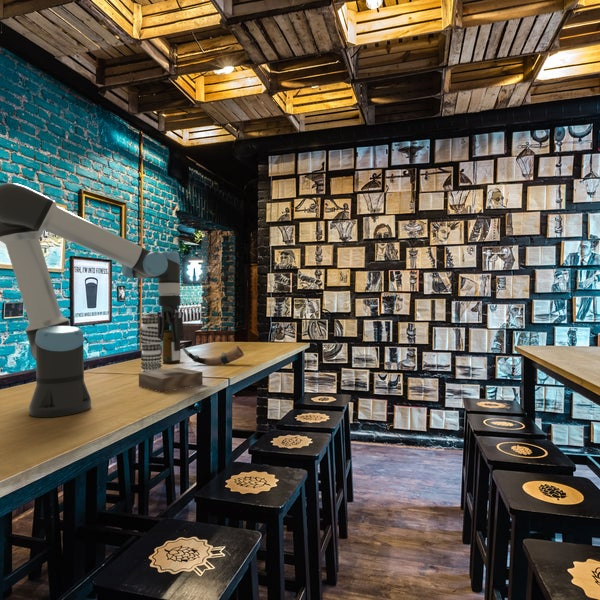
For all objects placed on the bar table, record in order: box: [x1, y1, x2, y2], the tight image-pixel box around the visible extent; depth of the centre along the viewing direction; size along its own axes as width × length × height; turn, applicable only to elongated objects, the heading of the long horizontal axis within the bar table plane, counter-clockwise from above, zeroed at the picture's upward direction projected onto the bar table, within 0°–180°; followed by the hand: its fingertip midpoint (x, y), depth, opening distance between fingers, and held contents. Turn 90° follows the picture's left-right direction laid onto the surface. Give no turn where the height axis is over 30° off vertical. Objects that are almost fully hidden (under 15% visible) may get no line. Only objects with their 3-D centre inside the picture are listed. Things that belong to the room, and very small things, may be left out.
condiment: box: [159, 329, 186, 366], centre depth 149 cm, size 7×8×12 cm
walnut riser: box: [138, 367, 204, 393], centre depth 149 cm, size 16×16×5 cm
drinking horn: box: [180, 343, 245, 366], centre depth 194 cm, size 6×30×10 cm, turn 90°
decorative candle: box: [139, 312, 163, 373], centre depth 182 cm, size 9×9×25 cm
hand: (170, 359), depth 149 cm, fingers closed on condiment, 6 cm apart
